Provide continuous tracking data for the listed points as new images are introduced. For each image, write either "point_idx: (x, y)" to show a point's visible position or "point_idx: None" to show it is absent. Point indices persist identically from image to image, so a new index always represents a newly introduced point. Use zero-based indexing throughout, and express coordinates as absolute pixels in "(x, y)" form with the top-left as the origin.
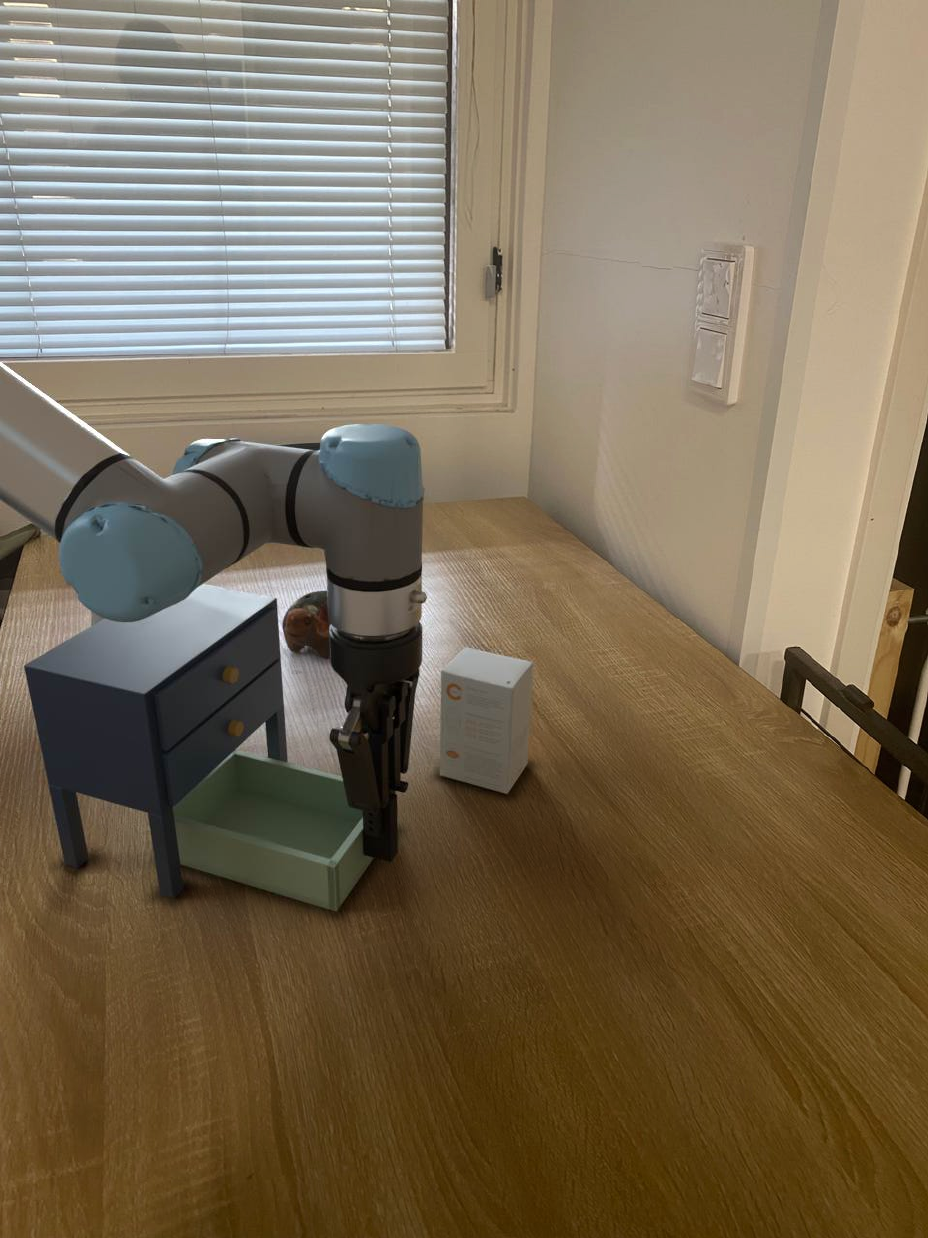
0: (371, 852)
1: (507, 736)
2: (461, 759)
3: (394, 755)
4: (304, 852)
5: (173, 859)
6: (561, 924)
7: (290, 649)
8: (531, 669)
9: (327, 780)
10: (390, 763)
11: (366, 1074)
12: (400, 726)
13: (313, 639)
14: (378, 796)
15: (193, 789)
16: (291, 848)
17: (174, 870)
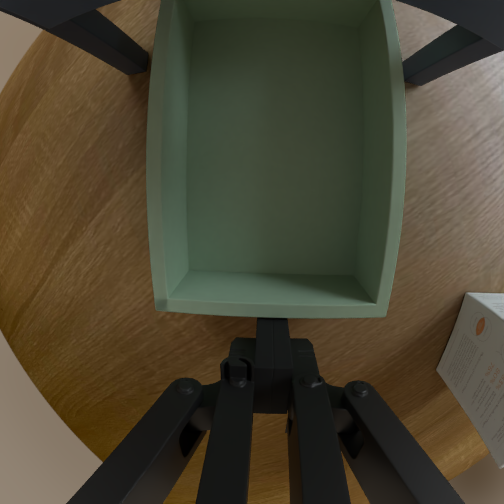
0: None
1: (472, 417)
2: (473, 336)
3: (290, 490)
4: (162, 249)
5: (106, 56)
6: (261, 447)
7: None
8: None
9: (388, 185)
10: (290, 465)
11: (65, 356)
12: (380, 500)
13: None
14: (197, 444)
15: None
16: (161, 222)
17: (115, 61)
